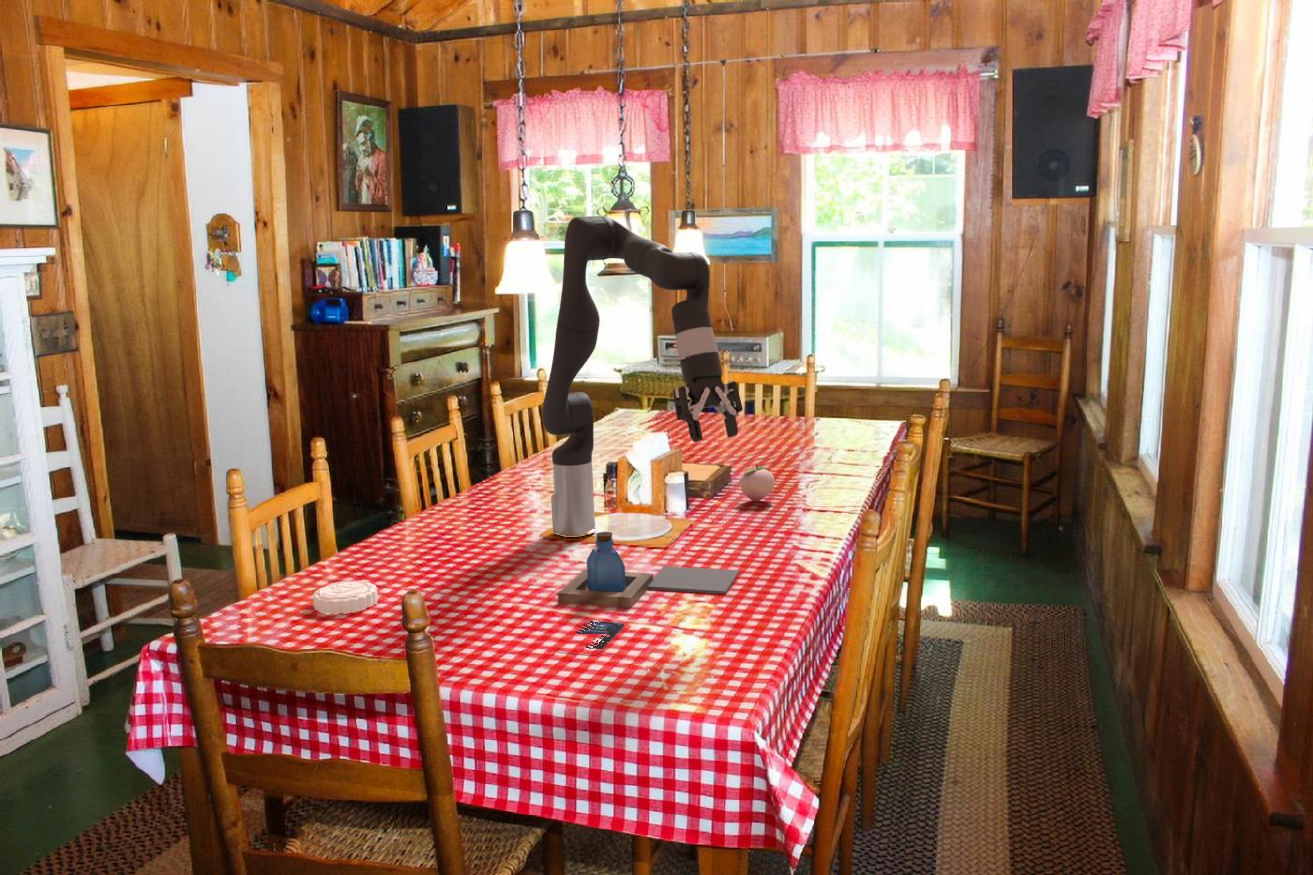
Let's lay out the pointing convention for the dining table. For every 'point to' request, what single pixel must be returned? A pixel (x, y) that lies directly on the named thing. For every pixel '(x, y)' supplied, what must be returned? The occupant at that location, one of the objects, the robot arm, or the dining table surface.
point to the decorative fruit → (757, 483)
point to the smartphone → (602, 632)
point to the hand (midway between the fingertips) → (715, 438)
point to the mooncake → (345, 597)
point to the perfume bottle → (605, 566)
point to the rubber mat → (694, 580)
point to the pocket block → (579, 594)
